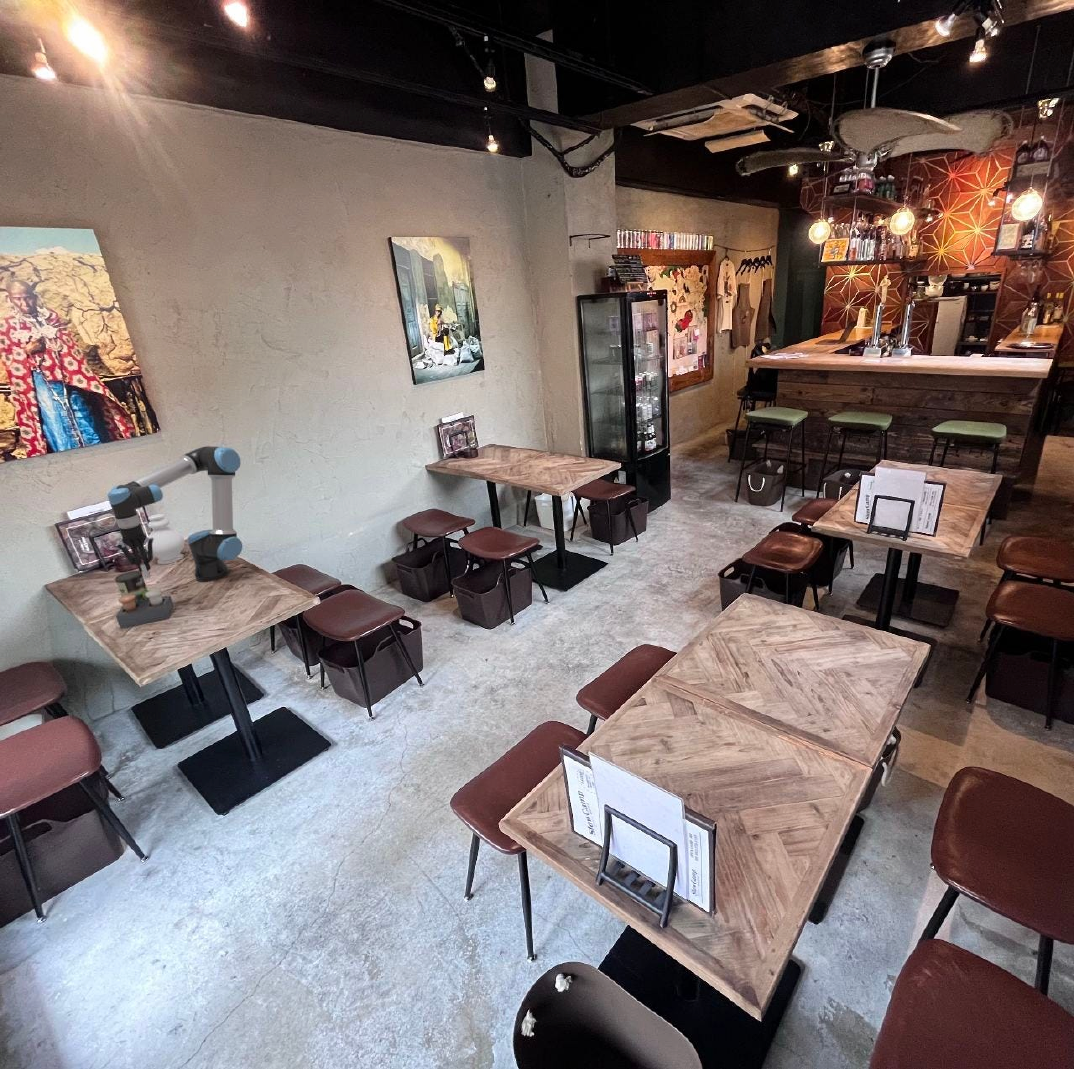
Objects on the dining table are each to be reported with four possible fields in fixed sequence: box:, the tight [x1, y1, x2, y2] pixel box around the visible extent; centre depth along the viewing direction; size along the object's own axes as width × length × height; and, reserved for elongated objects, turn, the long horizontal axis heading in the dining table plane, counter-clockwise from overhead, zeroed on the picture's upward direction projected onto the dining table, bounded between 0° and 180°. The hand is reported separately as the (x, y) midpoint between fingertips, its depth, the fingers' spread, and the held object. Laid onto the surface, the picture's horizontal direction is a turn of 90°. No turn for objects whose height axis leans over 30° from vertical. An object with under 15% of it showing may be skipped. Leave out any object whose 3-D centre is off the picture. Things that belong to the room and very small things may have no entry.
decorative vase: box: [145, 513, 186, 565], centre depth 309 cm, size 18×18×25 cm
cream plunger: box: [145, 588, 163, 606], centre depth 250 cm, size 6×6×7 cm
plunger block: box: [115, 594, 175, 629], centre depth 250 cm, size 18×12×6 cm, turn 111°
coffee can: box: [114, 570, 149, 602], centre depth 263 cm, size 10×10×14 cm
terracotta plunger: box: [118, 594, 137, 611], centre depth 247 cm, size 6×6×7 cm
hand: (147, 577), depth 246 cm, fingers closed
